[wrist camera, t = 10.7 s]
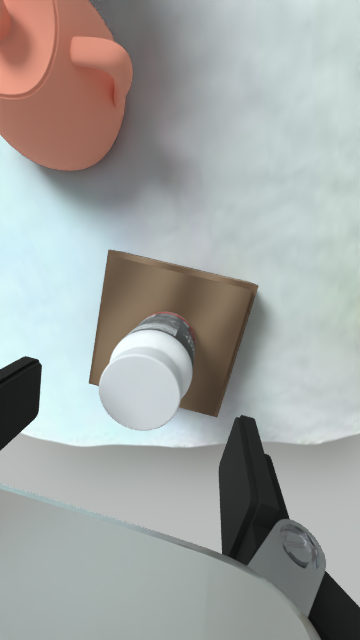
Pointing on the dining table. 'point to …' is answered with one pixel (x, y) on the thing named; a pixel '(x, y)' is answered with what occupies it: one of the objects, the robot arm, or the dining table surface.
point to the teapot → (60, 82)
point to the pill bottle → (149, 372)
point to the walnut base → (184, 300)
